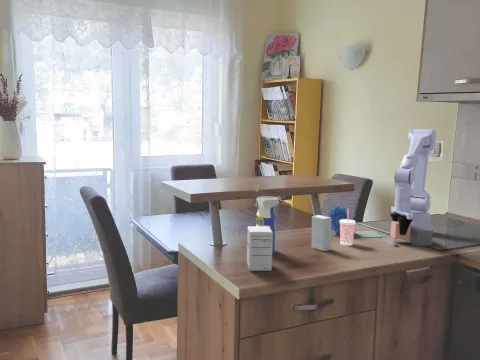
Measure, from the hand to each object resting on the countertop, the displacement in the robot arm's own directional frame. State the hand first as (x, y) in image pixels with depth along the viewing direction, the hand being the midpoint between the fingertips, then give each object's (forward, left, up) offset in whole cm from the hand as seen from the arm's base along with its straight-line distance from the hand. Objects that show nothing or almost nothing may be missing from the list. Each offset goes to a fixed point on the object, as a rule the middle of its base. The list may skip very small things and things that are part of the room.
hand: (400, 233), depth 177 cm
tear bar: (+5, 0, -4) cm, 6 cm away
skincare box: (+34, +7, -4) cm, 35 cm away
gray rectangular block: (-7, 0, -4) cm, 8 cm away
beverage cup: (+22, +1, -4) cm, 22 cm away
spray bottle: (+55, +9, -4) cm, 56 cm away
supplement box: (+60, +26, -4) cm, 66 cm away
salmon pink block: (0, 0, -2) cm, 2 cm away
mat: (+8, -12, -4) cm, 15 cm away
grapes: (+20, -13, -4) cm, 24 cm away
